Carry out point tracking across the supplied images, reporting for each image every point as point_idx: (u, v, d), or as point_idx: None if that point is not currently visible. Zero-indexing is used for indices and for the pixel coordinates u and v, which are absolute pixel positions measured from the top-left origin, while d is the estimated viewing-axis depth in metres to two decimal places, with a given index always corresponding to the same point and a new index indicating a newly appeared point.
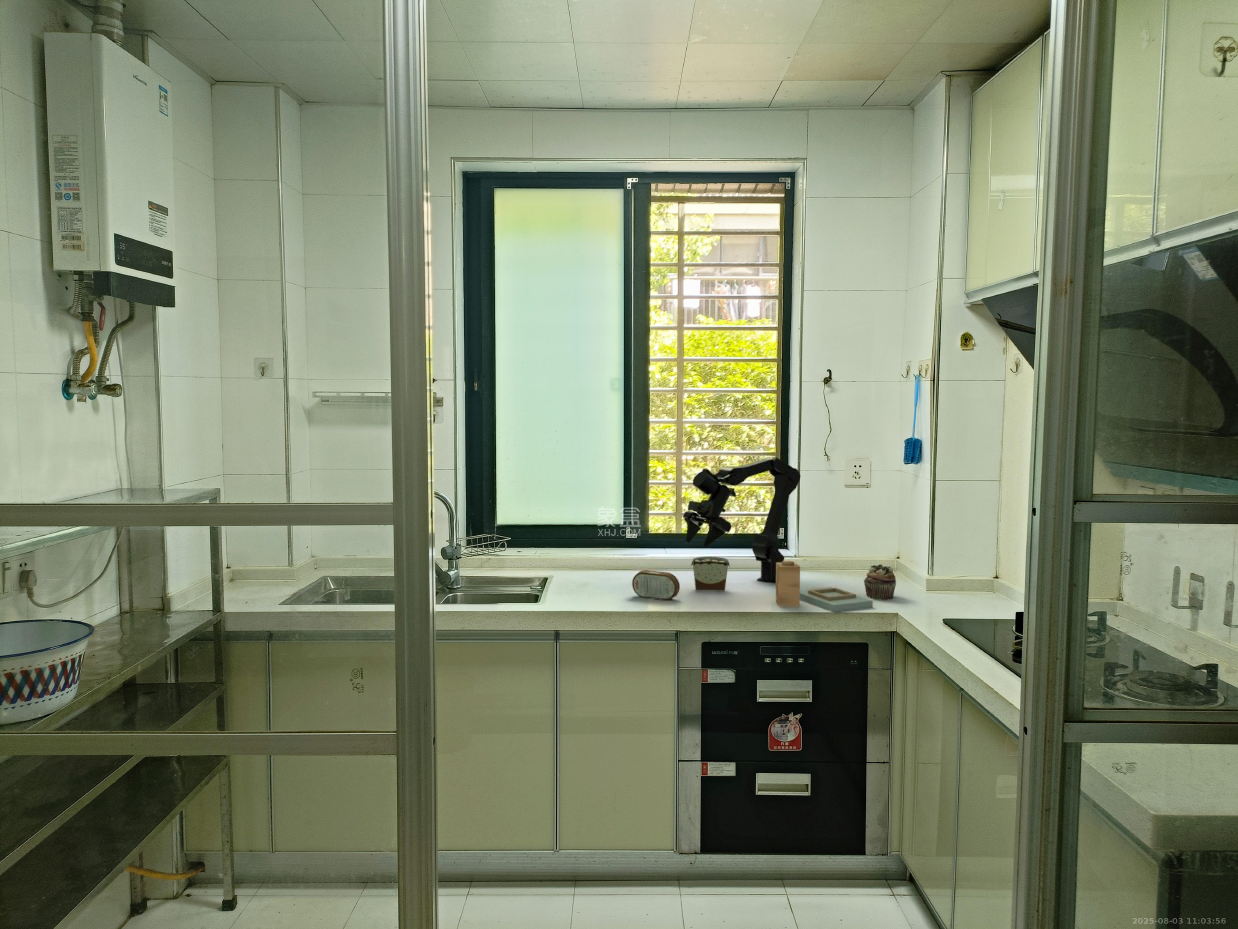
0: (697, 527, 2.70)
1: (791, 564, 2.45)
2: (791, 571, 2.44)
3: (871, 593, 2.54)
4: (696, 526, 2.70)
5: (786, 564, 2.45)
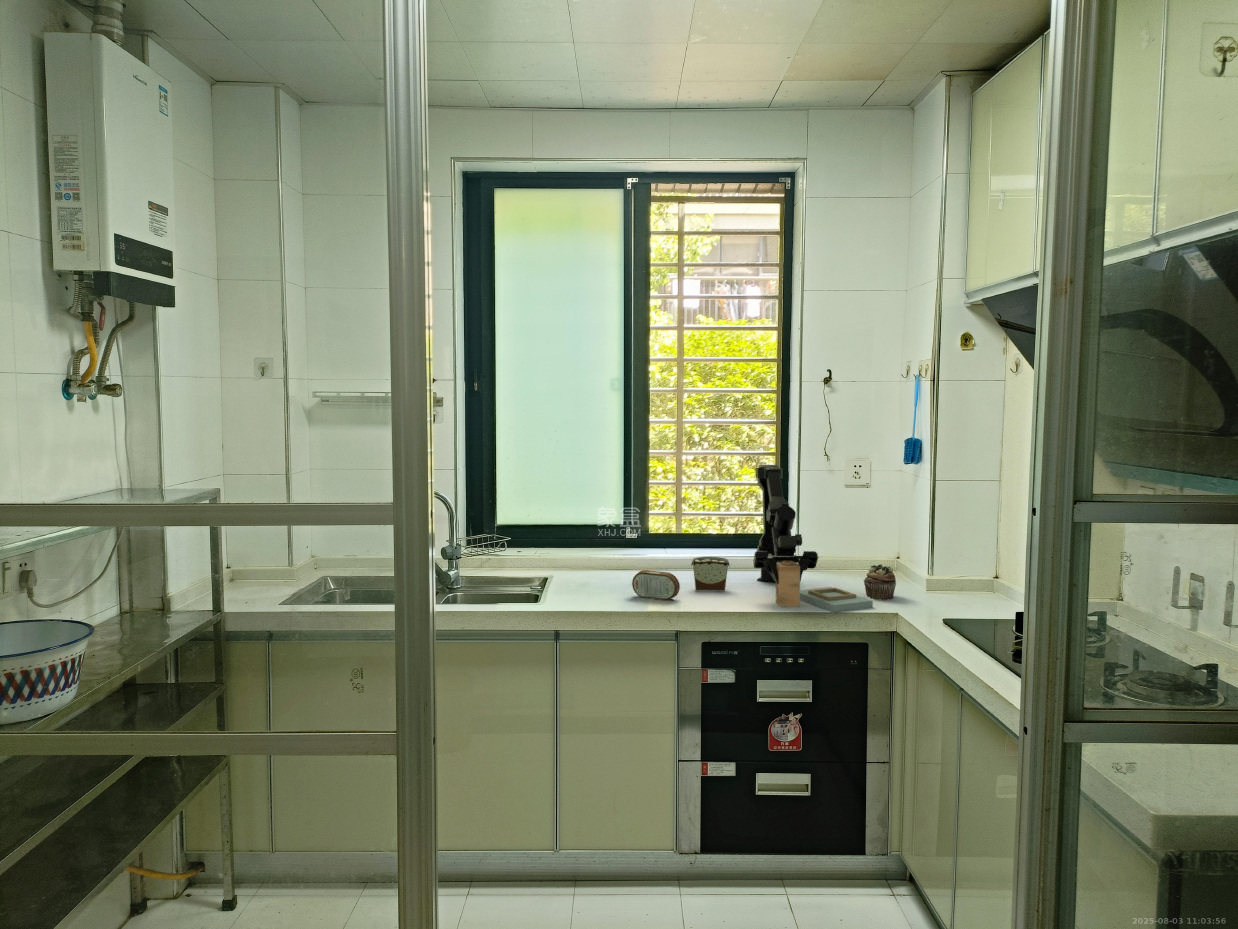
0: None
1: (791, 564, 2.45)
2: (791, 571, 2.44)
3: (871, 593, 2.54)
4: None
5: (786, 564, 2.45)
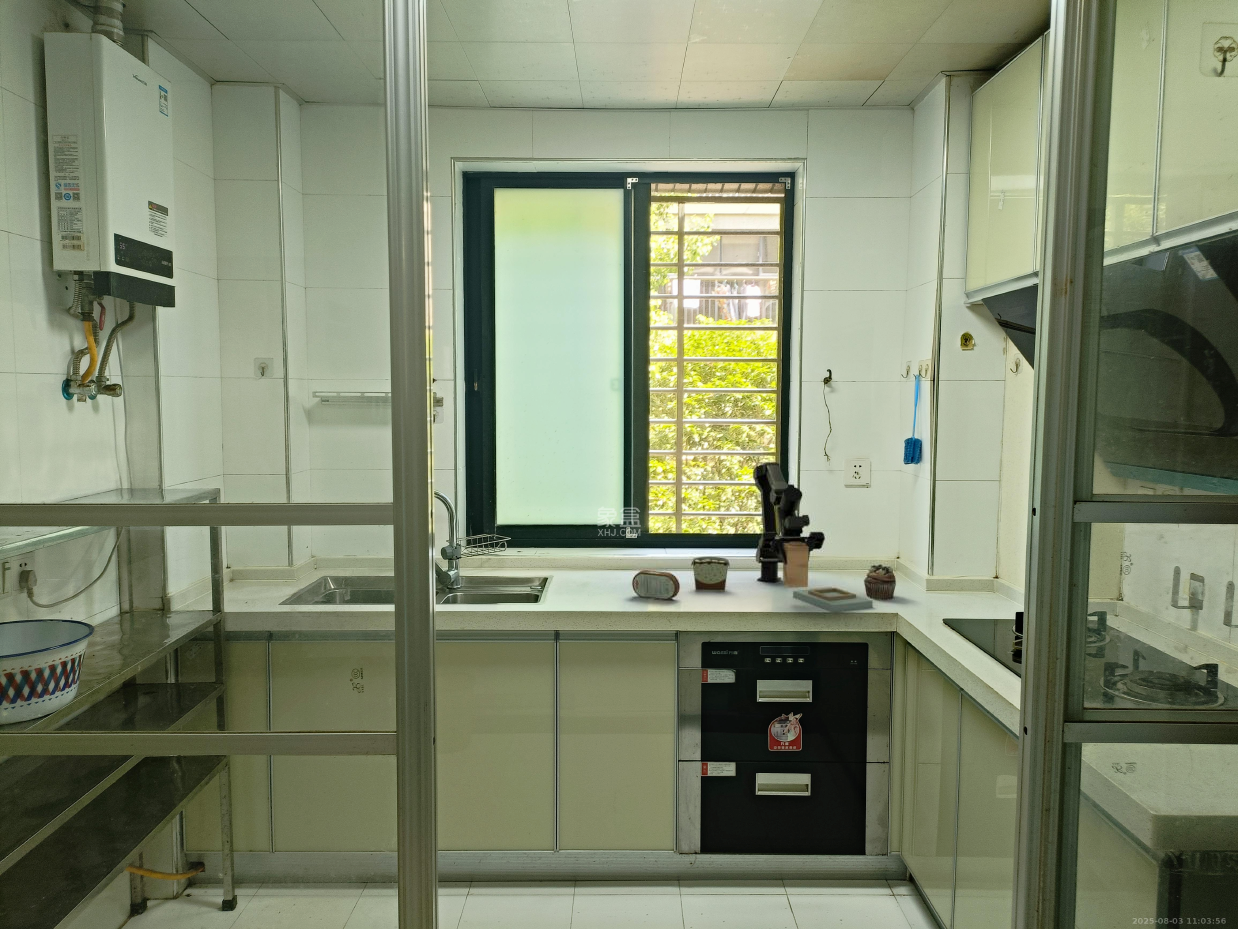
0: None
1: (799, 544, 2.44)
2: (799, 551, 2.43)
3: (871, 593, 2.54)
4: None
5: (794, 545, 2.44)
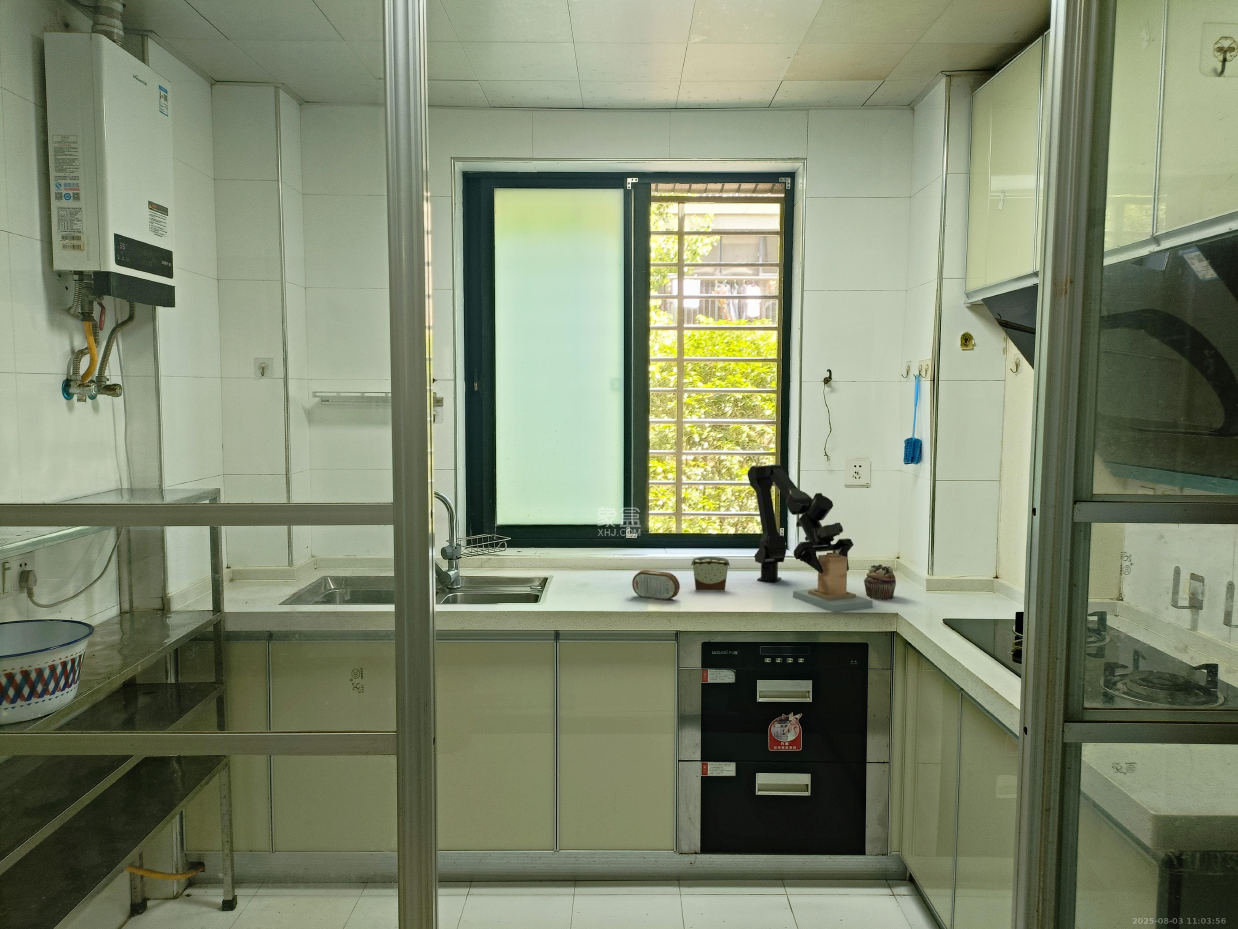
0: None
1: (838, 555, 2.48)
2: (840, 562, 2.46)
3: (871, 593, 2.54)
4: None
5: (834, 556, 2.47)
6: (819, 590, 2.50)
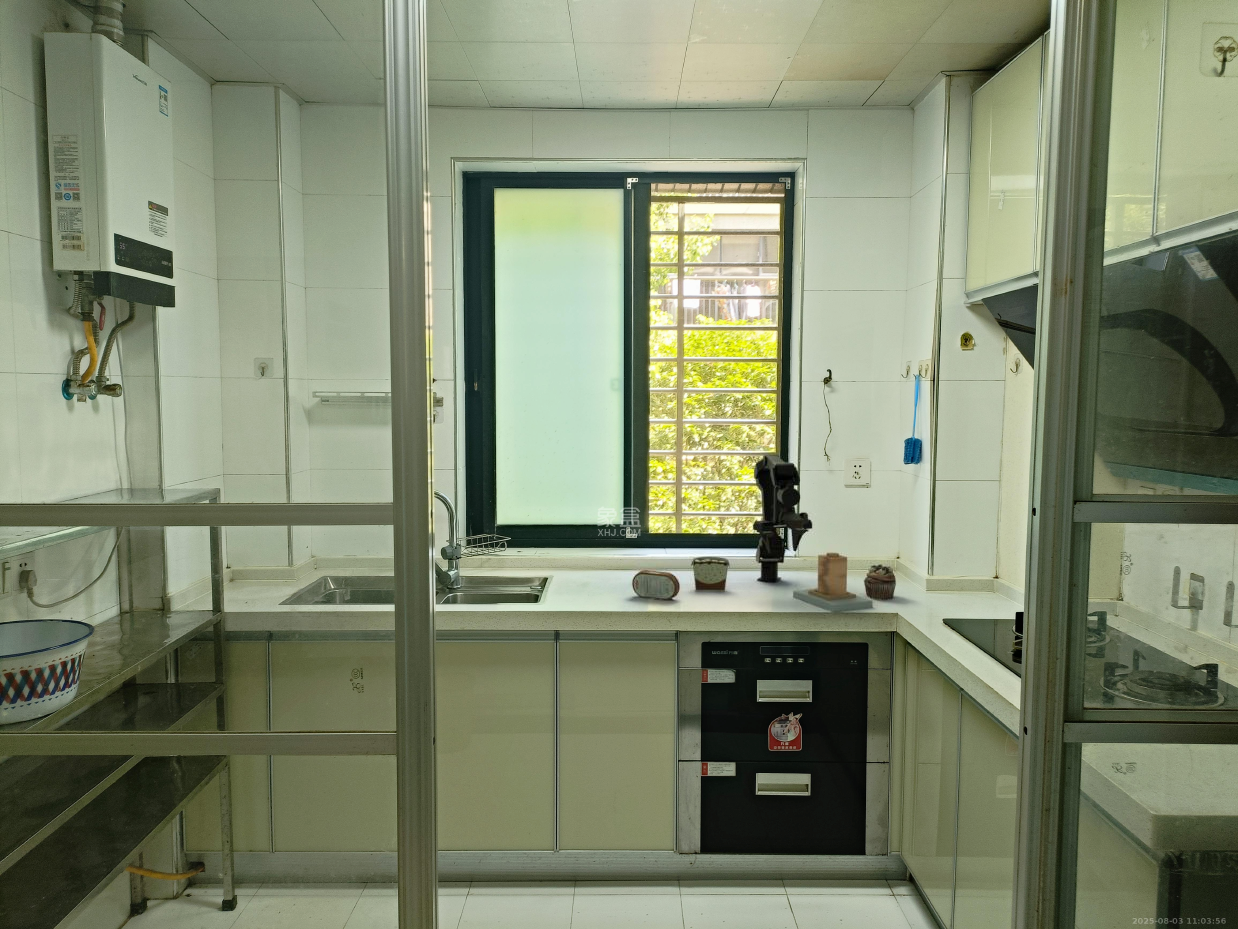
0: None
1: (838, 555, 2.48)
2: (840, 562, 2.46)
3: (871, 593, 2.54)
4: None
5: (834, 556, 2.47)
6: (819, 590, 2.50)
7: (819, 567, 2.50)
